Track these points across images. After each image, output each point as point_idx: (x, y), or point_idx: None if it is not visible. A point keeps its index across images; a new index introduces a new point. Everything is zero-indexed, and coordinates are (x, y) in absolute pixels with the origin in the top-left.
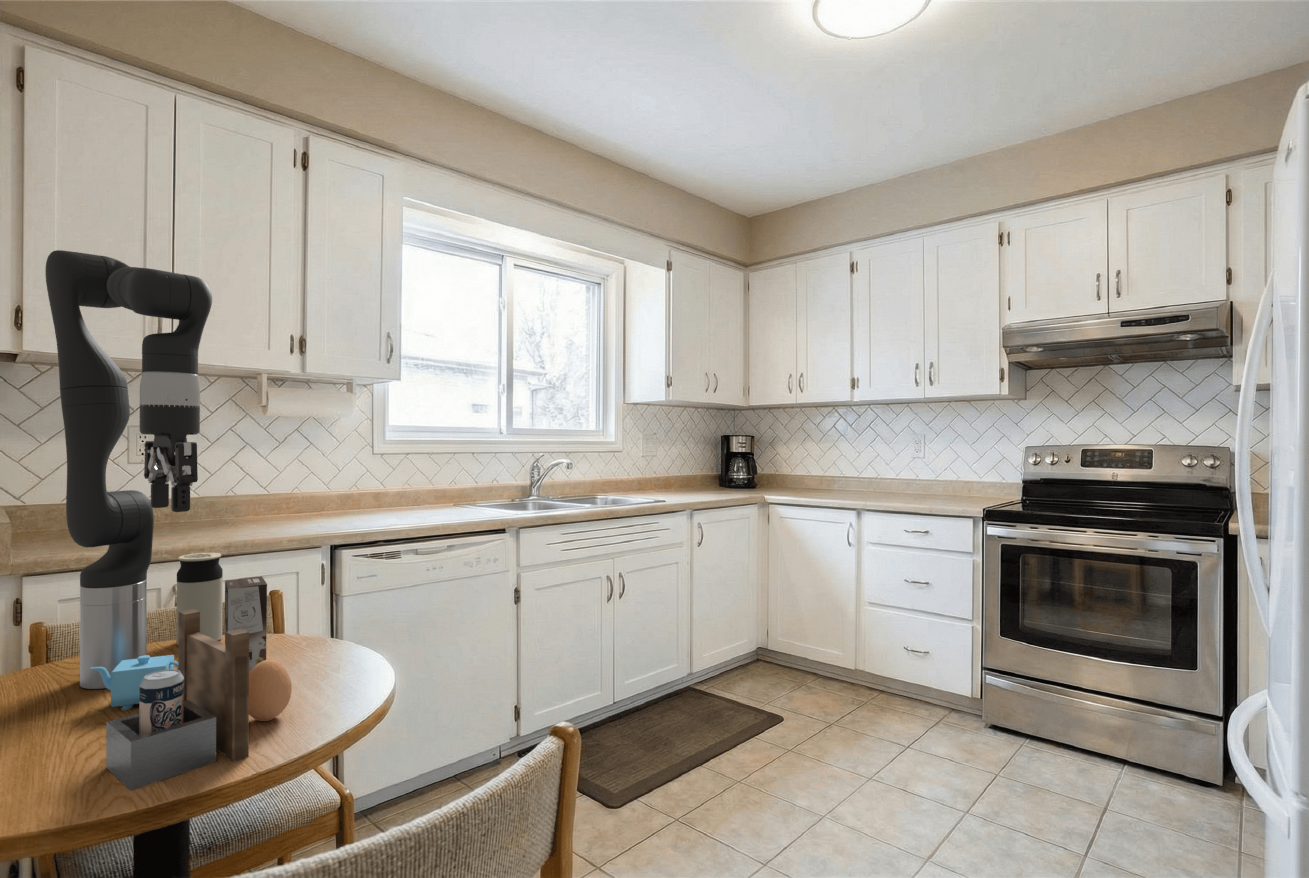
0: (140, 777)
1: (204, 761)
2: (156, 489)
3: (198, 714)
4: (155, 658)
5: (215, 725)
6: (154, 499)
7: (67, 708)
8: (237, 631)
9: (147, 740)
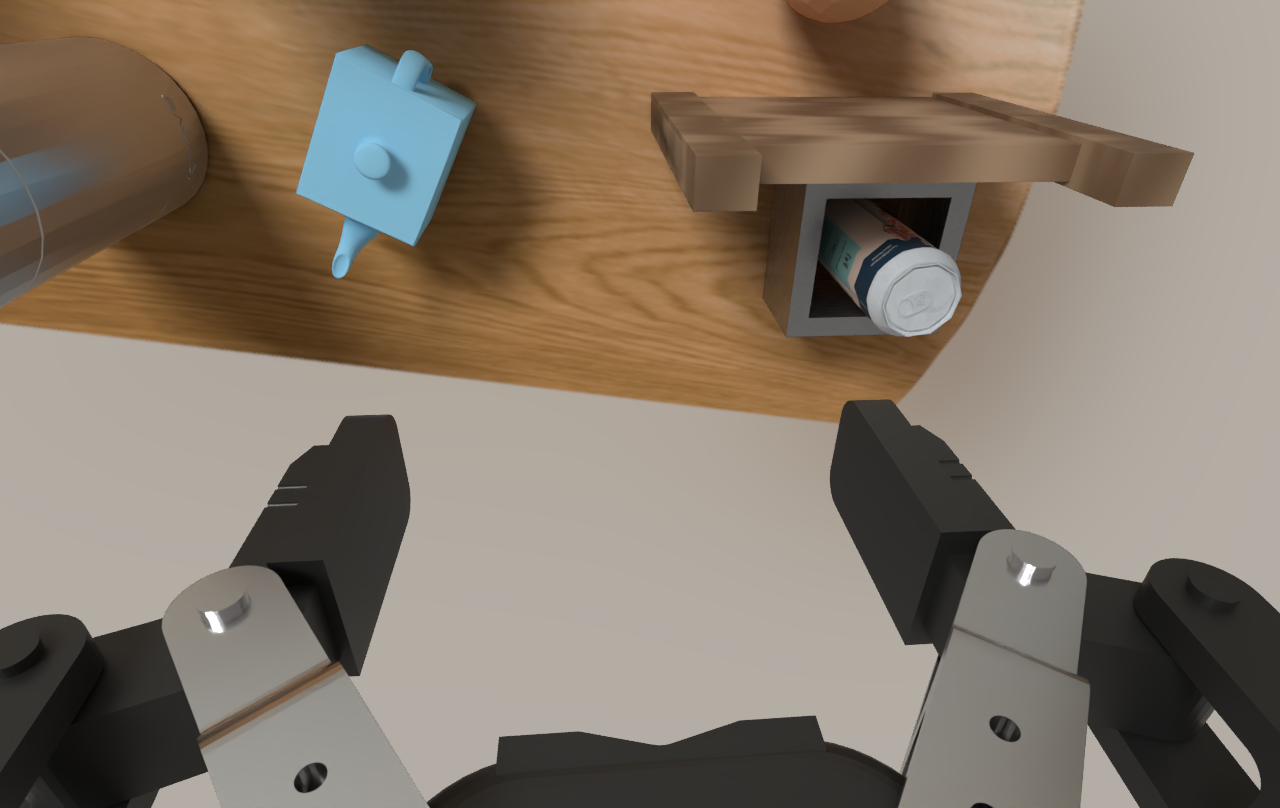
0: None
1: None
2: (367, 603)
3: (924, 196)
4: (344, 113)
5: None
6: (395, 543)
7: (324, 272)
8: (1150, 177)
9: None
